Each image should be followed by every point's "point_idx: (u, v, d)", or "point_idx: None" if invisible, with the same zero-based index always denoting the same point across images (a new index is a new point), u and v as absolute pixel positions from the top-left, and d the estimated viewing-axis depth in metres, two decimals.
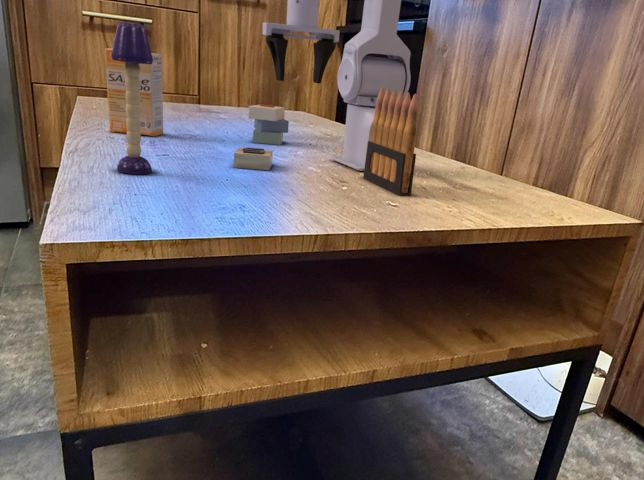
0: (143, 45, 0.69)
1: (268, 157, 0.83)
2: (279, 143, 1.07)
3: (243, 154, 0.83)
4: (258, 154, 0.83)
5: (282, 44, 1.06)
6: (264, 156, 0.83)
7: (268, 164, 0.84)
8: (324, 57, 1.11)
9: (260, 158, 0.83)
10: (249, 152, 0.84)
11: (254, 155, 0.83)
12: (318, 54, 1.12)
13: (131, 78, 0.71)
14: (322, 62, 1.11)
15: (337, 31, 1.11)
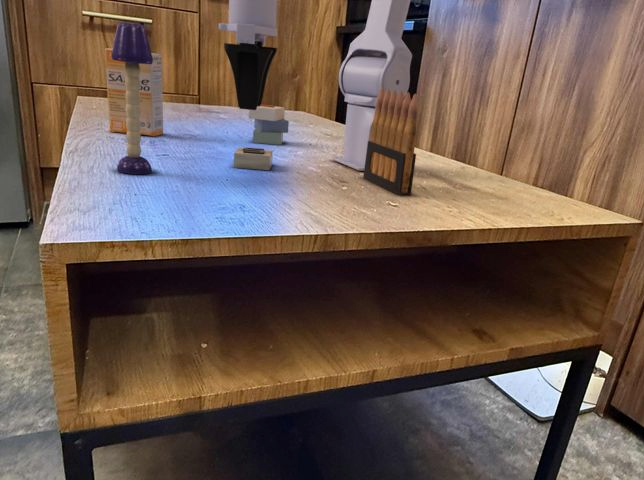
0: (143, 45, 0.69)
1: (268, 157, 0.83)
2: (279, 143, 1.07)
3: (243, 154, 0.83)
4: (258, 154, 0.83)
5: (268, 57, 0.71)
6: (264, 156, 0.83)
7: (268, 164, 0.84)
8: (268, 68, 0.77)
9: (260, 158, 0.83)
10: (249, 152, 0.84)
11: (254, 155, 0.83)
12: None
13: (131, 78, 0.71)
14: (266, 76, 0.78)
15: None
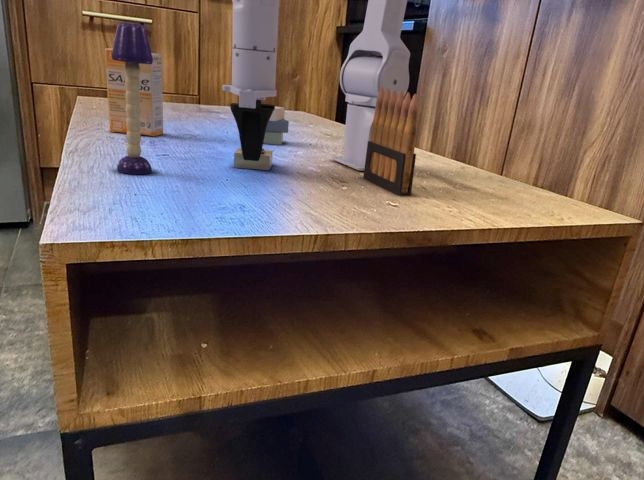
0: (143, 45, 0.69)
1: (268, 157, 0.83)
2: (279, 143, 1.07)
3: None
4: None
5: (270, 116, 0.79)
6: (264, 156, 0.83)
7: (268, 164, 0.84)
8: (266, 125, 0.81)
9: (260, 158, 0.83)
10: None
11: None
12: None
13: (131, 78, 0.71)
14: (264, 132, 0.81)
15: None
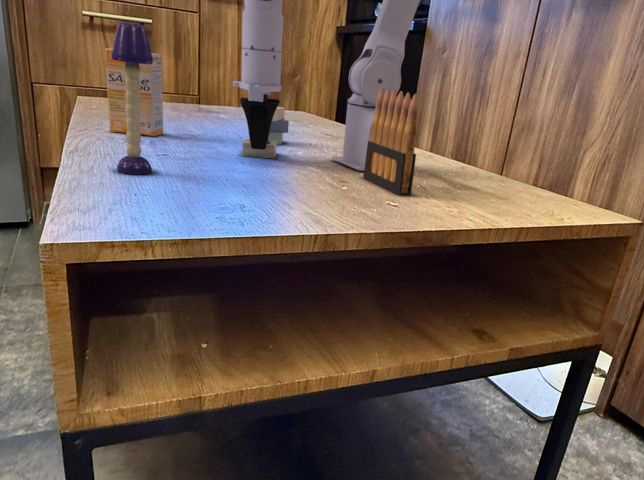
0: (143, 45, 0.69)
1: (273, 146, 0.93)
2: (279, 143, 1.07)
3: None
4: None
5: (275, 109, 0.88)
6: (270, 145, 0.93)
7: (273, 153, 0.93)
8: (272, 117, 0.90)
9: (266, 147, 0.93)
10: None
11: None
12: None
13: (131, 78, 0.71)
14: (270, 124, 0.91)
15: None
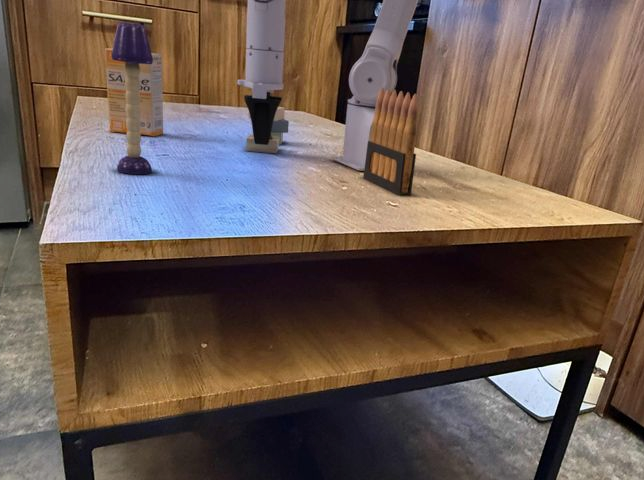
0: (143, 45, 0.69)
1: (275, 142, 0.97)
2: (279, 143, 1.07)
3: None
4: None
5: None
6: (272, 141, 0.97)
7: (275, 148, 0.98)
8: None
9: (269, 143, 0.97)
10: None
11: None
12: None
13: (131, 78, 0.71)
14: (272, 120, 0.95)
15: None
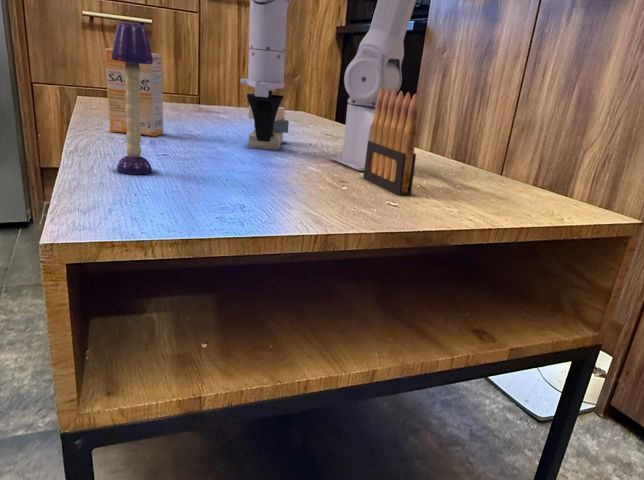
0: (143, 45, 0.69)
1: (277, 139, 1.00)
2: None
3: None
4: None
5: (279, 104, 0.96)
6: (274, 138, 1.00)
7: (277, 145, 1.01)
8: (276, 112, 0.98)
9: (270, 140, 1.01)
10: None
11: None
12: None
13: (131, 78, 0.71)
14: None
15: None
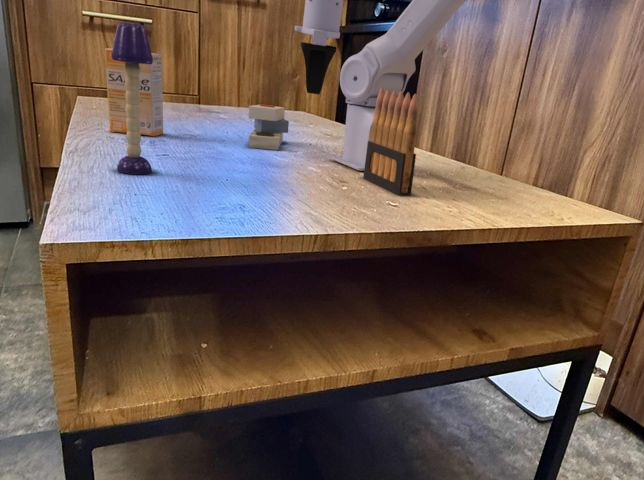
0: (143, 45, 0.69)
1: (277, 139, 1.00)
2: None
3: (256, 136, 1.00)
4: (269, 136, 1.01)
5: None
6: (274, 138, 1.00)
7: (277, 145, 1.01)
8: None
9: (270, 140, 1.01)
10: (261, 135, 1.01)
11: (266, 137, 1.00)
12: None
13: (131, 78, 0.71)
14: None
15: None
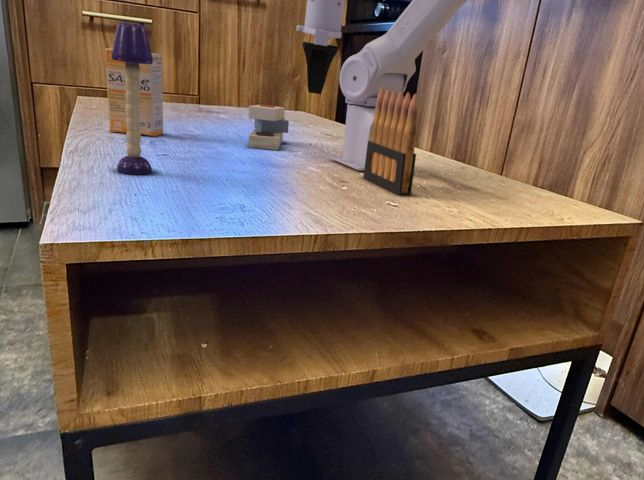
0: (143, 45, 0.69)
1: (277, 139, 1.00)
2: None
3: (256, 136, 1.00)
4: (269, 136, 1.01)
5: None
6: (274, 138, 1.00)
7: (277, 145, 1.01)
8: None
9: (270, 140, 1.01)
10: (261, 135, 1.01)
11: (266, 137, 1.00)
12: None
13: (131, 78, 0.71)
14: None
15: None
